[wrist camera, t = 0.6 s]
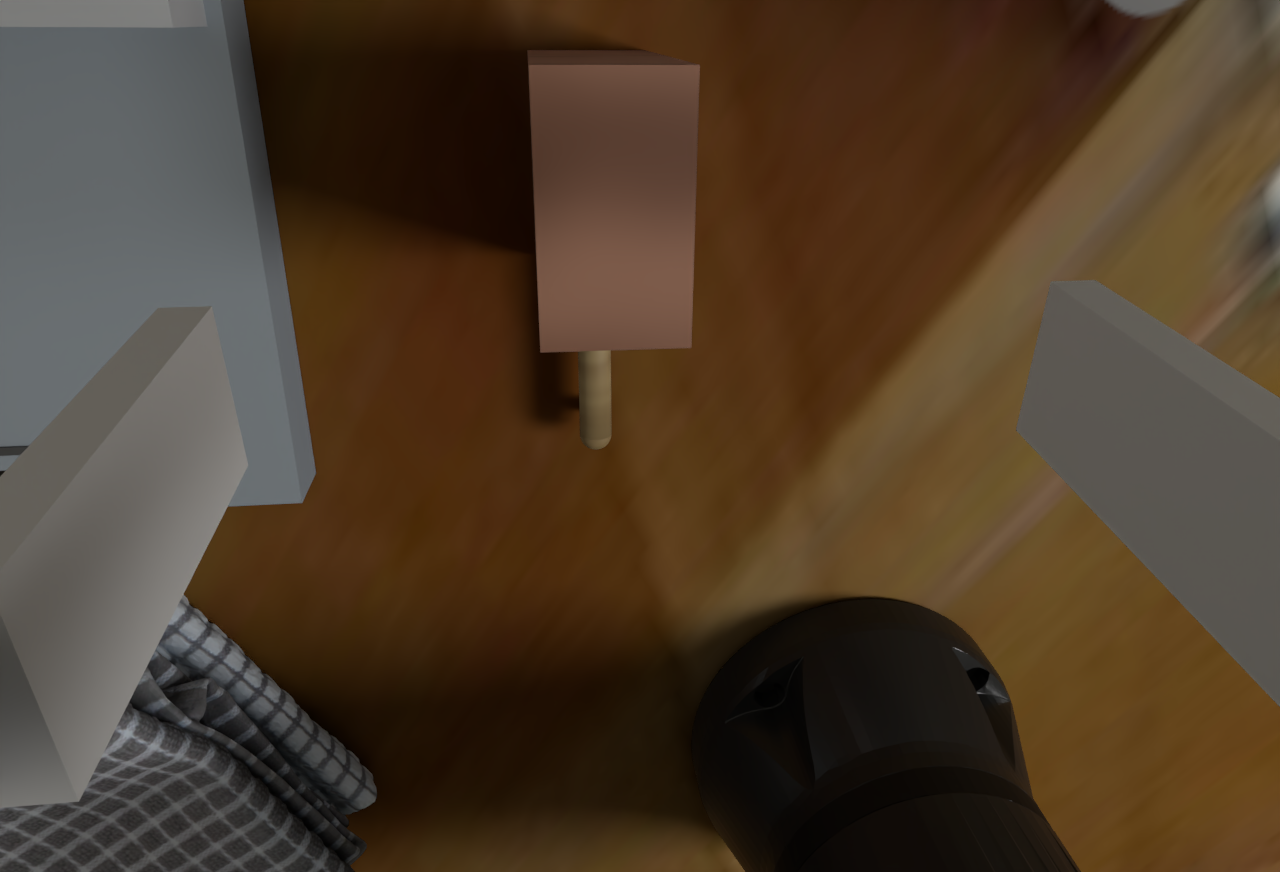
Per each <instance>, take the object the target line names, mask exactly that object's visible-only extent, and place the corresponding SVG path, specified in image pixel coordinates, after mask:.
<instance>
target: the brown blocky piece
mask: <svg viewBox="0 0 1280 872" xmlns="http://www.w3.org/2000/svg"><path fill="white" fill-rule="evenodd" d="M527 53H528V78H529V102H530V127H531V151H532V176H533V200H534V225H535V249H536V271H537V292H538V313H539V333H540V353H544V352H575V351H578V368H579V411H580V437H581V440H582V442H583V444H584V445H585V446H587V447H588V448H591V449H601V448H603V447H605V446H606V445H607V444H608V443H609V441H610V439H611V350H638V349H670V348H691V343H692V310H693V276H694V242H695V208H696V174H697V141H698V107H699V73H700V65H698V64H694V63H690V62H687V61H683V60H679V59H675V58H672V57H668V56H664V55H660V54H657V53H653V52H649V51H646V50H527Z"/></svg>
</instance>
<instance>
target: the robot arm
mask: <svg viewBox="0 0 1280 872" xmlns="http://www.w3.org/2000/svg"><path fill="white" fill-rule="evenodd" d="M1016 431H1017V432H1018V433H1019V434H1020V435H1021V436H1022V437H1023V438H1024V439H1025V440H1026V441H1027V442H1028V443H1029V444H1030V445H1031V446H1032V448H1033V449H1034V450H1035V451H1036V452H1037V453H1038V454H1039V455H1040V456H1041V457H1042V458H1043V459H1044V460H1045V461H1046V462H1047V463H1048V464H1049V465H1050V466H1051V467H1052V469H1053V470H1054V471H1055V472H1056V473H1057V474H1058V475H1059V476H1060V477H1061V478H1062V479H1063V480H1064V481H1065V482H1066V483H1067V484H1068V485H1069V486H1070V487H1071V488H1072V489H1073V491H1074V492H1075V493H1076V494H1077V495H1078V496H1079V497H1080V498H1081V499H1082V500H1083V501H1084V502H1085V503H1086V504H1087V505H1088V506H1089V507H1090V508H1091V509H1092V510H1093V511H1094V513H1095V514H1096V515H1097V516H1098V517H1099V518H1100V519H1101V520H1102V521H1103V522H1104V523H1105V524H1106V525H1107V526H1108V527H1109V528H1110V529H1111V530H1112V531H1113V532H1114V534H1115V535H1116V536H1117V537H1118V538H1119V539H1120V540H1121V541H1122V542H1123V543H1124V544H1125V545H1126V546H1127V547H1128V548H1129V549H1130V550H1131V551H1132V552H1133V553H1134V554H1135V556H1136V557H1137V558H1138V559H1139V560H1140V561H1141V562H1142V563H1143V564H1144V565H1145V566H1146V567H1147V568H1148V569H1149V570H1150V571H1151V572H1152V573H1153V574H1154V575H1155V576H1156V578H1157V579H1158V580H1159V581H1160V582H1161V583H1162V584H1163V585H1164V586H1165V587H1166V588H1167V589H1168V590H1169V591H1170V592H1171V593H1172V594H1173V595H1174V596H1175V597H1176V599H1177V600H1178V601H1179V602H1180V603H1181V604H1182V605H1183V606H1184V607H1185V608H1186V609H1187V610H1188V611H1189V612H1190V613H1191V614H1192V615H1193V616H1194V617H1195V618H1196V619H1197V621H1198V622H1199V623H1200V624H1201V625H1202V626H1203V627H1204V628H1205V629H1206V630H1207V631H1208V632H1209V633H1210V634H1211V635H1212V636H1213V637H1214V638H1215V639H1216V640H1217V641H1218V643H1219V644H1220V645H1221V646H1222V647H1223V648H1224V649H1225V650H1226V651H1227V652H1228V653H1229V654H1230V655H1231V656H1232V657H1233V658H1234V659H1235V660H1236V661H1237V662H1238V664H1239V665H1240V666H1241V667H1242V668H1243V669H1244V670H1245V671H1246V672H1247V673H1248V674H1249V675H1250V676H1251V677H1252V678H1253V679H1254V680H1255V681H1256V682H1257V683H1258V684H1259V686H1260V687H1261V688H1262V689H1263V690H1264V691H1265V692H1266V693H1267V694H1268V695H1269V696H1270V697H1271V698H1272V699H1273V700H1274V701H1275V702H1276V703H1277V704H1278V705H1279V706H1280V398H1279V397H1277V396H1276V395H1274V394H1273V393H1271V392H1269V391H1268V390H1266V389H1265V388H1263V387H1262V386H1260V385H1258V384H1257V383H1255V382H1254V381H1252V380H1251V379H1249V378H1248V377H1246V376H1244V375H1243V374H1241V373H1240V372H1238V371H1237V370H1235V369H1233V368H1232V367H1230V366H1229V365H1227V364H1226V363H1224V362H1222V361H1221V360H1219V359H1218V358H1216V357H1215V356H1213V355H1212V354H1210V353H1208V352H1207V351H1205V350H1204V349H1202V348H1201V347H1199V346H1197V345H1196V344H1194V343H1193V342H1191V341H1190V340H1188V339H1187V338H1185V337H1183V336H1182V335H1180V334H1179V333H1177V332H1176V331H1174V330H1172V329H1171V328H1169V327H1168V326H1166V325H1165V324H1163V323H1161V322H1160V321H1158V320H1157V319H1155V318H1154V317H1152V316H1151V315H1149V314H1147V313H1146V312H1144V311H1143V310H1141V309H1140V308H1138V307H1136V306H1135V305H1133V304H1132V303H1130V302H1129V301H1127V300H1126V299H1124V298H1122V297H1121V296H1119V295H1118V294H1116V293H1115V292H1113V291H1111V290H1110V289H1108V288H1107V287H1105V286H1104V285H1102V284H1100V283H1099V282H1097V281H1096V280H1089V281H1055V282H1051V283H1050V288H1049V292H1048V296H1047V300H1046V305H1045V309H1044V313H1043V317H1042V322H1041V326H1040V330H1039V334H1038V339H1037V343H1036V347H1035V351H1034V356H1033V360H1032V364H1031V368H1030V372H1029V377H1028V381H1027V385H1026V389H1025V394H1024V398H1023V402H1022V406H1021V411H1020V415H1019V419H1018V423H1017V428H1016ZM247 467H248V462H247V457H246V453H245V449H244V444H243V440H242V436H241V431H240V427H239V422H238V418H237V414H236V409H235V405H234V401H233V396H232V392H231V387H230V383H229V379H228V374H227V370H226V366H225V361H224V357H223V353H222V348H221V344H220V339H219V335H218V331H217V326H216V322H215V318H214V313H213V309H212V306H205V307H171V308H158V309H157V310H156V311H155V312H154V313H153V314H152V315H151V316H150V317H149V318H148V319H147V320H146V321H145V322H144V323H143V325H142V326H141V327H140V328H139V329H138V330H137V331H136V332H135V333H134V334H133V335H132V336H131V337H130V338H129V340H128V341H127V342H126V343H125V344H124V345H123V346H122V347H121V348H120V349H119V350H118V351H117V352H116V353H115V354H114V356H113V357H112V358H111V359H110V360H109V361H108V362H107V363H106V364H105V365H104V366H103V367H102V368H101V369H100V371H99V372H98V373H97V374H96V375H95V376H94V377H93V378H92V379H91V380H90V381H89V382H88V383H87V384H86V385H85V387H84V388H83V389H82V390H81V391H80V392H79V393H78V394H77V395H76V396H75V397H74V398H73V399H72V400H71V402H70V403H69V404H68V405H67V406H66V407H65V408H64V409H63V410H62V411H61V412H60V413H59V414H58V415H57V416H56V418H55V419H54V420H53V421H52V422H51V423H50V424H49V425H48V426H47V427H46V428H45V429H44V430H43V431H42V433H41V434H40V435H39V436H38V437H37V438H36V439H35V440H34V441H33V442H32V443H31V444H30V445H29V446H28V447H27V449H26V450H25V451H24V452H23V453H22V454H21V455H20V456H19V457H18V458H17V459H16V460H15V461H14V462H13V464H12V465H11V466H10V467H9V468H8V469H7V470H6V471H0V808H5V807H18V806H30V805H43V804H56V803H68V802H79V800H80V799H81V797H82V795H83V793H84V791H85V789H86V787H87V785H88V783H89V781H90V779H91V777H92V775H93V773H94V771H95V769H96V767H97V765H98V763H99V761H100V759H101V757H102V755H103V753H104V751H105V749H106V747H107V745H108V743H109V741H110V739H111V737H112V735H113V733H114V731H115V729H116V727H117V725H118V723H119V721H120V719H121V717H122V715H123V713H124V711H125V709H126V707H127V705H128V703H129V701H130V699H131V697H132V695H133V693H134V691H135V689H136V687H137V685H138V683H139V681H140V679H141V677H142V675H143V673H144V671H145V669H146V667H147V665H148V663H149V661H150V659H151V657H152V656H153V654H154V652H155V650H156V648H157V646H158V644H159V642H160V640H161V638H162V636H163V634H164V632H165V630H166V628H167V626H168V624H169V622H170V620H171V618H172V616H173V614H174V612H175V610H176V608H177V606H178V604H179V602H180V600H181V598H182V596H183V594H184V592H185V590H186V588H187V586H188V584H189V582H190V580H191V578H192V576H193V574H194V572H195V570H196V568H197V566H198V564H199V562H200V560H201V558H202V556H203V554H204V552H205V550H206V548H207V546H208V544H209V542H210V540H211V538H212V536H213V534H214V532H215V530H216V528H217V526H218V524H219V522H220V520H221V518H222V516H223V515H224V513H225V511H226V509H227V507H228V505H229V503H230V501H231V499H232V497H233V495H234V493H235V491H236V489H237V487H238V485H239V483H240V481H241V479H242V477H243V475H244V473H245V471H246V469H247ZM691 744H692V759H693V764H694V769H695V773H696V778H697V782H698V786H699V791H700V795H701V799H702V802H703V805H704V807H705V809H706V812H707V814H708V816H709V818H710V821H711V822H712V824H713V826H714V827H715V829H716V830H717V832H718V833H719V835H720V836H721V838H722V839H723V840H724V842H725V843H726V845H727V846H728V848H729V849H730V850H731V852H732V853H733V855H734V856H735V857H736V859H737V860H738V862H739V863H740V865H741V866H742V867H743V869H744V870H745V872H1081V871H1080V870H1079V868H1078V867H1077V865H1076V863H1075V862H1074V860H1073V859H1072V857H1071V856H1070V854H1069V853H1068V851H1067V850H1066V848H1065V847H1064V845H1063V844H1062V842H1061V841H1060V839H1059V838H1058V836H1057V835H1056V833H1055V832H1054V831H1053V829H1052V828H1051V826H1050V824H1049V823H1048V821H1047V820H1046V818H1045V817H1044V815H1043V814H1042V812H1041V810H1040V809H1039V807H1038V806H1037V804H1036V802H1035V801H1034V799H1033V796H1032V791H1031V787H1030V782H1029V778H1028V773H1027V769H1026V764H1025V760H1024V756H1023V751H1022V747H1021V742H1020V738H1019V733H1018V729H1017V724H1016V720H1015V715H1014V711H1013V706H1012V703H1011V700H1010V697H1009V695H1008V692H1007V690H1006V688H1005V685H1004V683H1003V681H1002V680H1001V678H1000V676H999V674H998V673H997V672H996V670H995V669H994V667H993V666H992V665H991V663H990V662H989V660H988V659H987V658H986V656H985V655H984V653H983V652H982V651H981V649H980V648H979V646H978V645H977V644H976V642H975V641H974V640H973V639H972V638H971V637H970V635H968V634H967V633H966V632H965V631H964V630H963V629H962V628H961V627H959V626H958V625H957V624H956V623H954V622H952V621H951V620H949V619H948V618H946V617H944V616H942V615H940V614H939V613H936V612H934V611H932V610H929V609H927V608H924V607H921V606H918V605H914V604H910V603H905V602H900V601H893V600H880V599H863V600H851V601H844V602H837V603H833V604H828V605H824V606H820V607H817V608H813V609H810V610H807V611H805V612H802V613H799V614H797V615H794V616H792V617H790V618H787V619H785V620H783V621H781V622H779V623H777V624H776V625H774V626H772V627H770V628H769V629H767V630H765V631H764V632H762V633H761V634H759V635H758V636H756V637H755V638H754V639H752V640H751V641H750V642H748V643H747V644H746V645H745V646H744V647H742V648H741V649H740V650H739V651H738V652H737V653H736V654H735V655H734V656H733V657H732V658H731V659H730V660H729V661H728V662H727V663H726V664H725V665H724V666H723V667H722V669H721V670H720V671H719V673H718V674H717V675H716V676H715V678H714V679H713V681H712V682H711V684H710V685H709V687H708V689H707V691H706V693H705V694H704V696H703V699H702V701H701V703H700V705H699V708H698V711H697V713H696V717H695V721H694V725H693V731H692V741H691Z"/></svg>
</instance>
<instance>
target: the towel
mask: <svg viewBox="0 0 1280 872" xmlns="http://www.w3.org/2000/svg"><path fill="white" fill-rule="evenodd" d="M376 798H377V789H376V786H375V784H374V782H373V775H372V773H370V772H369V771H368V769H367V768H366V767H365V766H362V765H361V764H360V763H359V759H358V758H357V757H356V756H355V755H354V754H353V752H351V751H349V750H346V748H345V747H344V745H343V744H342V743H340V742H339V741H338V740H337V738H335V737H333V736H331V735H329V733H328V732H327V731H325V730H324V729H322V728H321V727H320V726H319V725H318V724H317V723H316V722H315V721H313V720H311V719H310V718H309V715H308V714H307V713H306V712H305V711H304V710H302V709H300V707H299V705H298V704H296V703H295V701H294V699H293V698H292V697H291V696H290V695H289V693H287V692H286V691H285V690H282V689H281V688H279V687H278V686H277V684H276V683H275V682H274V681H273V679H272V678H271V677H270V676H268V675H267V674H263V673H262V672H261V670H260V669H259V668H258V667H257V666H256V665H255V664H254V662H253V661H251V659H250V658H249V657H247V656H245V654H244V652H243V651H242V649H241V648H240V647H239V646H238V645H237V644H236V643H234V641H232V639H229V638H227V635H226V634H225V633H223V632H222V631H221V629H220V628H219V627H217V626H216V625H215V624H212V623H209V622H208V619H207V618H206V617H205V616H204V615H203V614H202V612H200V611H199V610H198V609H196V608H193V607H192V606H191V605H189V602H188V599H187V598H186V597H185V596H184V595H183V596H182V598H181V600H180V602H179V604H178V606H177V608H176V610H175V612H174V614H173V616H172V618H171V620H170V622H169V624H168V626H167V628H166V630H165V632H164V634H163V636H162V638H161V640H160V642H159V644H158V646H157V648H156V650H155V652H154V654H153V656H152V657H151V659H150V661H149V663H148V665H147V667H146V669H145V671H144V673H143V675H142V677H141V679H140V681H139V683H138V685H137V687H136V689H135V691H134V693H133V695H132V697H131V699H130V701H129V703H128V705H127V707H126V709H125V711H124V713H123V715H122V717H121V719H120V721H119V723H118V725H117V727H116V729H115V731H114V733H113V735H112V737H111V739H110V741H109V743H108V745H107V747H106V749H105V751H104V753H103V755H102V757H101V759H100V761H99V763H98V765H97V767H96V769H95V771H94V773H93V775H92V777H91V779H90V781H89V783H88V785H87V787H86V789H85V791H84V793H83V795H82V797H81V799H80V800H79V802H68V803H56V804H43V805H30V806H18V807H5V808H0V872H354V870H353V869H352V868H351V866H350V865H351V864H352V863H353V862H354V861H356V860H357V859H358V858H359V857H360V856H361V855H362V854H363V853H364V851H365V850H366V847H367V844H366V843H365V841H363V840H362V839H360V838H359V837H358V836H356V835H355V834H353V833H352V832H351V831H349V830H348V829H347V827H348V825H349V820H348V819H347V817H346V816H345V815H346V814H351V813H353V812H357V811H359V810H361V809H363V808H366V807H368V806H369V805H371V804H372V803H374V802H375V800H376Z"/></svg>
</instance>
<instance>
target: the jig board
mask: <svg viewBox="0 0 1280 872" xmlns="http://www.w3.org/2000/svg"><path fill="white" fill-rule="evenodd" d="M205 306H212V309H213V313H214V318H215V322H216V326H217V331H218V335H219V339H220V344H221V348H222V353H223V357H224V361H225V366H226V370H227V374H228V379H229V383H230V387H231V392H232V396H233V401H234V405H235V409H236V414H237V418H238V422H239V427H240V431H241V436H242V440H243V444H244V449H245V453H246V457H247V462H248V467H247V469H246V471H245V473H244V475H243V477H242V479H241V481H240V483H239V485H238V487H237V489H236V491H235V493H234V495H233V497H232V499H231V501H230V503H229V505H228V506H247V505H268V504H290V503H302V502H303V500H304V498H305V496H306V494H307V492H308V489H309V487H310V485H311V483H312V481H313V478H314V476H315V474H316V470H315V463H314V457H313V450H312V444H311V437H310V431H309V424H308V418H307V411H306V405H305V398H304V392H303V385H302V379H301V372H300V366H299V359H298V353H297V346H296V340H295V333H294V327H293V320H292V313H291V307H290V300H289V294H288V287H287V281H286V274H285V268H284V261H283V255H282V248H281V242H280V235H279V229H278V222H277V216H276V209H275V203H274V196H273V190H272V183H271V177H270V170H269V164H268V157H267V151H266V144H265V138H264V131H263V125H262V118H261V112H260V105H259V99H258V92H257V85H256V79H255V72H254V66H253V59H252V53H251V46H250V40H249V33H248V27H247V20H246V14H245V7H244V1H243V0H0V471H6V470H7V469H8V468H9V467H10V466H11V465H12V464H13V462H14V461H15V460H16V459H17V458H18V457H19V456H20V455H21V454H22V453H23V452H24V451H25V450H26V449H27V447H28V446H29V445H30V444H31V443H32V442H33V441H34V440H35V439H36V438H37V437H38V436H39V435H40V434H41V433H42V431H43V430H44V429H45V428H46V427H47V426H48V425H49V424H50V423H51V422H52V421H53V420H54V419H55V418H56V416H57V415H58V414H59V413H60V412H61V411H62V410H63V409H64V408H65V407H66V406H67V405H68V404H69V403H70V402H71V400H72V399H73V398H74V397H75V396H76V395H77V394H78V393H79V392H80V391H81V390H82V389H83V388H84V387H85V385H86V384H87V383H88V382H89V381H90V380H91V379H92V378H93V377H94V376H95V375H96V374H97V373H98V372H99V371H100V369H101V368H102V367H103V366H104V365H105V364H106V363H107V362H108V361H109V360H110V359H111V358H112V357H113V356H114V354H115V353H116V352H117V351H118V350H119V349H120V348H121V347H122V346H123V345H124V344H125V343H126V342H127V341H128V340H129V338H130V337H131V336H132V335H133V334H134V333H135V332H136V331H137V330H138V329H139V328H140V327H141V326H142V325H143V323H144V322H145V321H146V320H147V319H148V318H149V317H150V316H151V315H152V314H153V313H154V312H155V311H156V310H157V309H158V308H171V307H205Z"/></svg>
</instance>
